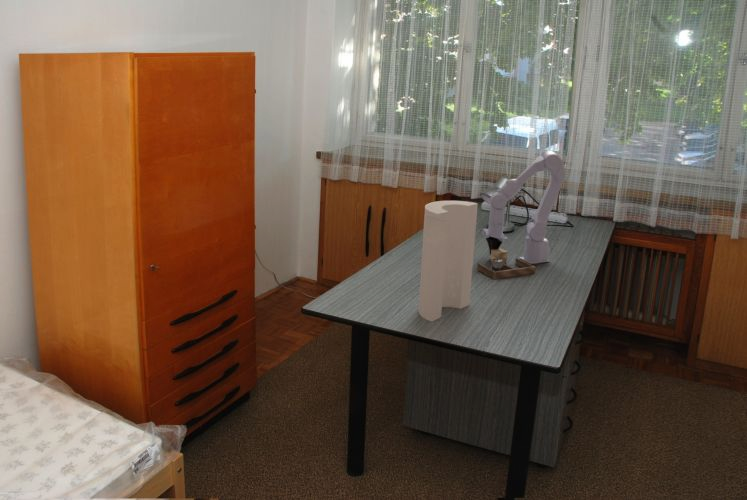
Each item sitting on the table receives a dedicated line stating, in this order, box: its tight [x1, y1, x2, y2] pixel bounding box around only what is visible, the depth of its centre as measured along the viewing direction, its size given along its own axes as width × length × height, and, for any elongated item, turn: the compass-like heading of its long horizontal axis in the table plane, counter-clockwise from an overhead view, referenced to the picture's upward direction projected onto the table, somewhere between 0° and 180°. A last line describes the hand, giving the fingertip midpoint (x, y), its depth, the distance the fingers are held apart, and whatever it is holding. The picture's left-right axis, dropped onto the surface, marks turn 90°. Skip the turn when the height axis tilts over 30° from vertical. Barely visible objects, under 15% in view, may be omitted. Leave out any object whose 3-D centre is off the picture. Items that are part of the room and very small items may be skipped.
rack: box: [476, 257, 536, 280], centre depth 281 cm, size 19×11×2 cm, turn 117°
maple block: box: [490, 248, 508, 264], centre depth 292 cm, size 4×4×4 cm
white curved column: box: [418, 200, 478, 323], centre depth 237 cm, size 35×11×21 cm
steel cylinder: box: [490, 259, 504, 272], centre depth 279 cm, size 4×4×5 cm
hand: (493, 255), depth 296 cm, fingers closed
